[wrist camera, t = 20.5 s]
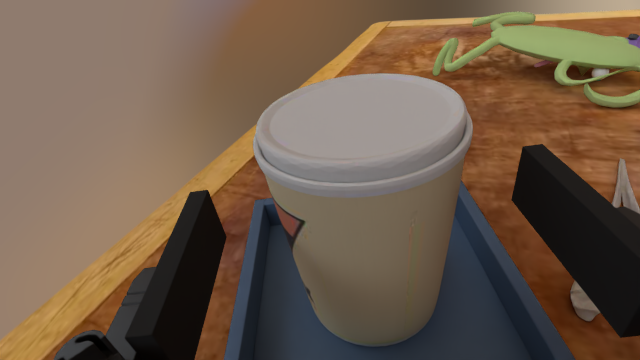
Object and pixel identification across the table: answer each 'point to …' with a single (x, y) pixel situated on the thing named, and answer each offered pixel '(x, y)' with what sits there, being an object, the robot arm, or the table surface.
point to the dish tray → (422, 348)
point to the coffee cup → (367, 196)
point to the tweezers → (624, 189)
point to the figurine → (556, 52)
